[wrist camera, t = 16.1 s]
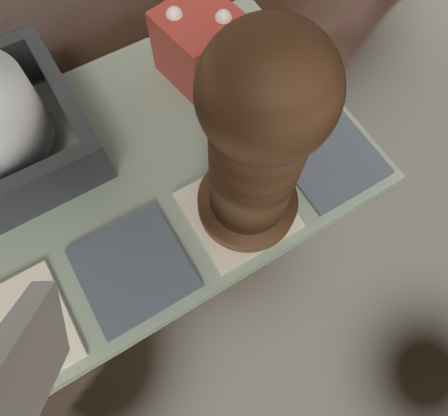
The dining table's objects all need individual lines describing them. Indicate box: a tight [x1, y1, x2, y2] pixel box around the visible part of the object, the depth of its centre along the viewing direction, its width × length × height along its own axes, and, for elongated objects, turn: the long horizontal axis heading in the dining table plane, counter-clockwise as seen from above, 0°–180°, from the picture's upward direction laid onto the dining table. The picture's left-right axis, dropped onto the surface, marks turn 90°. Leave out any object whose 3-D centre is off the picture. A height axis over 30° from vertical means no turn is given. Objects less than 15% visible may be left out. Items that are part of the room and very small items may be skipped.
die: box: [145, 0, 246, 105], centre depth 22 cm, size 4×4×4 cm
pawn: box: [193, 9, 346, 253], centre depth 15 cm, size 5×5×11 cm
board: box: [0, 0, 405, 396], centre depth 21 cm, size 17×24×4 cm
